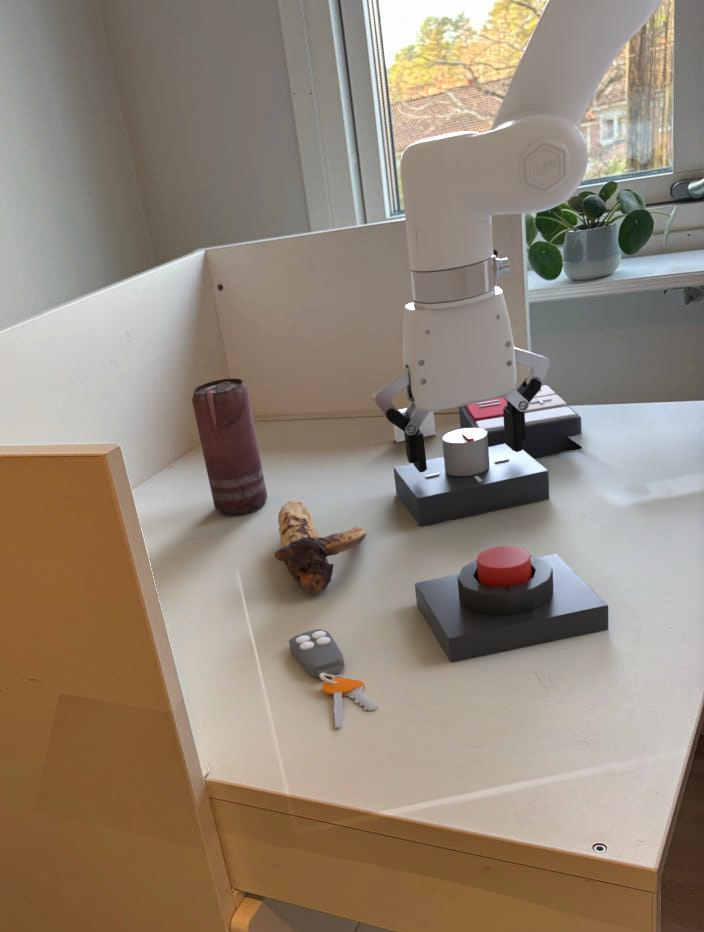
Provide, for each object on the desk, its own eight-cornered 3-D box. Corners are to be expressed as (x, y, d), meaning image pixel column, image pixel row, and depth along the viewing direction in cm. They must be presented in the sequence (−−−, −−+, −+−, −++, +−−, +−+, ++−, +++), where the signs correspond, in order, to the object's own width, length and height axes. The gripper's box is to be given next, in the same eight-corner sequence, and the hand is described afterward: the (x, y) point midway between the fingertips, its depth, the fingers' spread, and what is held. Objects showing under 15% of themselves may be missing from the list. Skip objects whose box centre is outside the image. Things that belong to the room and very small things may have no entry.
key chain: (285, 651, 79) (282, 635, 78) (328, 638, 79) (325, 623, 78) (336, 732, 67) (333, 714, 67) (386, 717, 68) (384, 699, 67)
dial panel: (514, 468, 103) (513, 440, 102) (549, 499, 95) (548, 468, 93) (396, 493, 104) (392, 465, 102) (420, 526, 95) (417, 497, 93)
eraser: (435, 434, 118) (433, 405, 116) (396, 442, 118) (393, 413, 116) (433, 431, 119) (430, 403, 117) (394, 439, 119) (391, 410, 118)
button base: (557, 576, 81) (555, 533, 79) (608, 630, 72) (608, 583, 70) (416, 606, 81) (412, 563, 79) (451, 663, 72) (446, 617, 70)
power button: (520, 561, 76) (519, 541, 76) (539, 582, 73) (538, 561, 72) (471, 572, 76) (469, 552, 76) (487, 593, 73) (486, 572, 72)
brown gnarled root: (386, 591, 85) (354, 514, 101) (383, 543, 83) (350, 472, 98) (283, 608, 86) (266, 528, 101) (276, 560, 83) (260, 487, 99)
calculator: (550, 381, 115) (581, 410, 102) (551, 416, 117) (583, 449, 104) (457, 397, 117) (476, 427, 104) (460, 431, 119) (479, 465, 105)
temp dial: (440, 466, 100) (436, 431, 98) (481, 457, 100) (479, 421, 98) (452, 479, 96) (449, 443, 94) (495, 470, 96) (493, 433, 94)
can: (211, 520, 107) (185, 398, 101) (219, 499, 113) (195, 381, 106) (265, 513, 106) (241, 388, 99) (270, 492, 111) (248, 373, 105)
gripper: (530, 258, 92) (537, 430, 100) (353, 296, 93) (375, 464, 101) (560, 268, 86) (565, 451, 94) (369, 309, 86) (390, 487, 94)
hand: (466, 457), depth 97 cm, fingers open, 9 cm apart
